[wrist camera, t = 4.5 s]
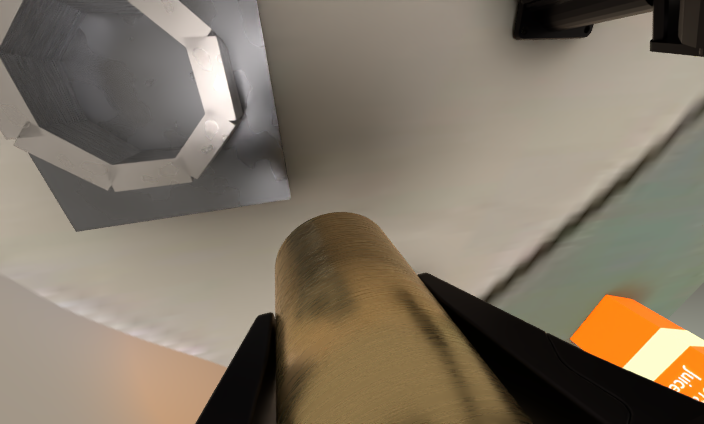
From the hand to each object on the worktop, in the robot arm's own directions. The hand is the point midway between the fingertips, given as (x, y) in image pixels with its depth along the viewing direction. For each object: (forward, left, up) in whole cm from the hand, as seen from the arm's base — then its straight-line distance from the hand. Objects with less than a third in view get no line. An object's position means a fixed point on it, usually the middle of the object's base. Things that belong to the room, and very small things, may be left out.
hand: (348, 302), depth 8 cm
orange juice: (-42, +28, -12) cm, 52 cm away
